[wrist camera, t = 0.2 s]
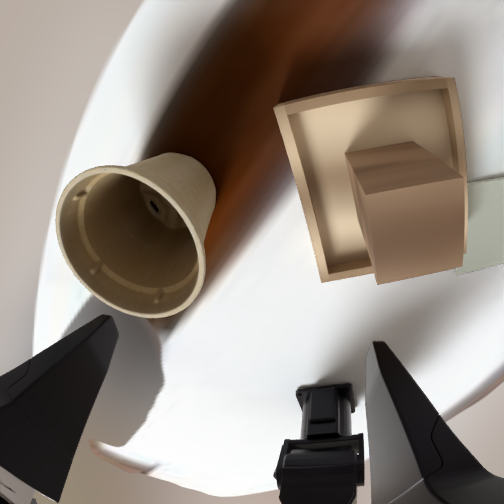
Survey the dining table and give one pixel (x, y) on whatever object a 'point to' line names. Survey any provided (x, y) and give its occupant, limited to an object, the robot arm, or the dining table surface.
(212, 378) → the dining table surface
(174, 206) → the flower pot
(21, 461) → the robot arm
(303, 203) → the oak box
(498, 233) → the pad
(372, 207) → the walnut block
